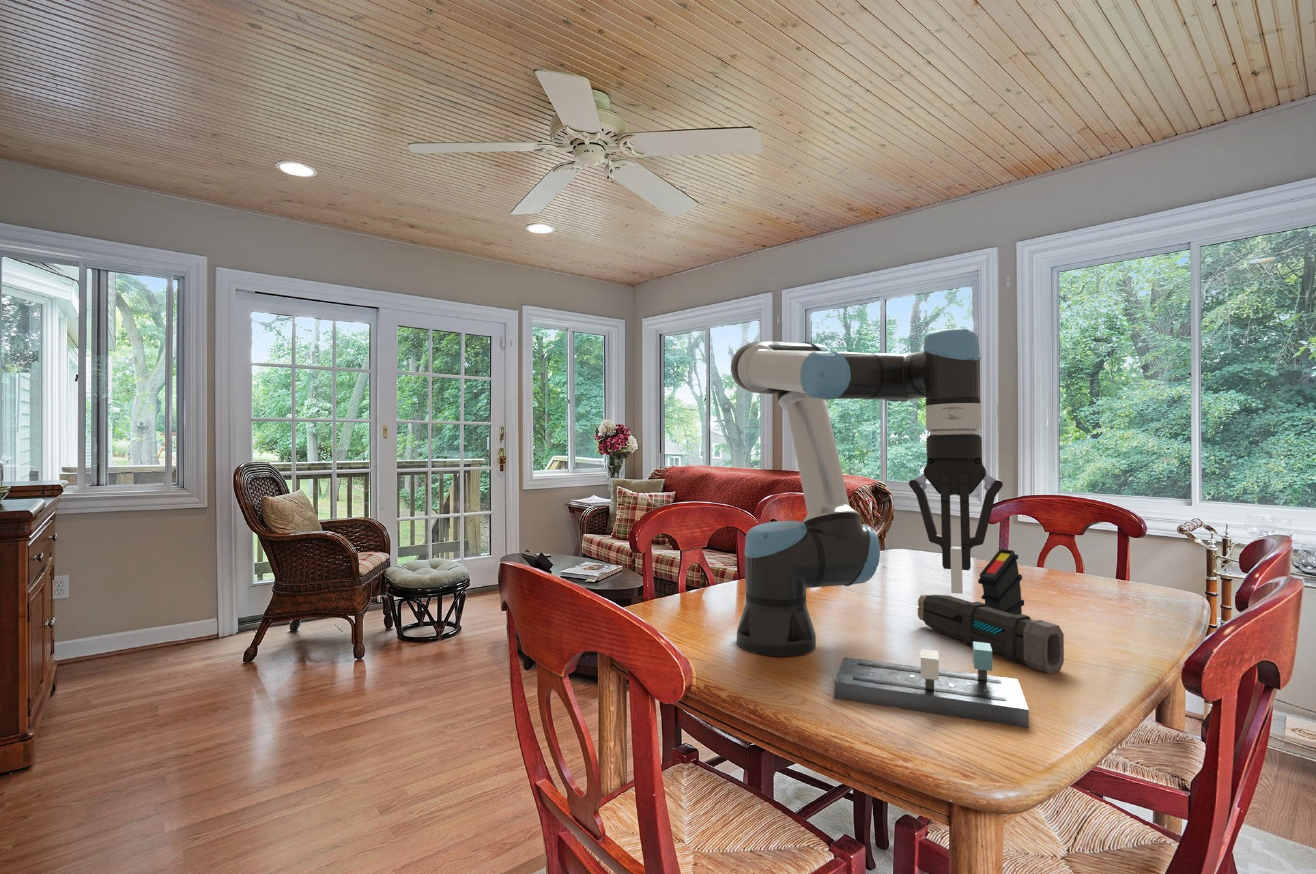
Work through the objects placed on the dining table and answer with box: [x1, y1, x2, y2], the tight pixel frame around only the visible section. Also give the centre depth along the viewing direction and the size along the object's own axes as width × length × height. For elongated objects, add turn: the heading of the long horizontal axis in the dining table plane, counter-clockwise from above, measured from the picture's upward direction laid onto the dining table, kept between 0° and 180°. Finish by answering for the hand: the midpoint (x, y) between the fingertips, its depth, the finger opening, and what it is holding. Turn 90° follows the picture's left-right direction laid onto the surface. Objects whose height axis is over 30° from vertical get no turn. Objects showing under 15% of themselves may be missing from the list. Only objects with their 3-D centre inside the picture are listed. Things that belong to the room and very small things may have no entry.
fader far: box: [972, 642, 993, 680], centre depth 97 cm, size 2×4×5 cm, turn 157°
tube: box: [917, 594, 1065, 675], centre depth 120 cm, size 11×7×30 cm
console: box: [833, 656, 1030, 729], centre depth 97 cm, size 26×12×3 cm, turn 67°
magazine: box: [977, 548, 1025, 615], centre depth 138 cm, size 4×13×15 cm, turn 127°
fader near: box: [920, 648, 940, 689], centre depth 94 cm, size 2×4×5 cm, turn 157°
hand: (957, 591), depth 94 cm, fingers closed
